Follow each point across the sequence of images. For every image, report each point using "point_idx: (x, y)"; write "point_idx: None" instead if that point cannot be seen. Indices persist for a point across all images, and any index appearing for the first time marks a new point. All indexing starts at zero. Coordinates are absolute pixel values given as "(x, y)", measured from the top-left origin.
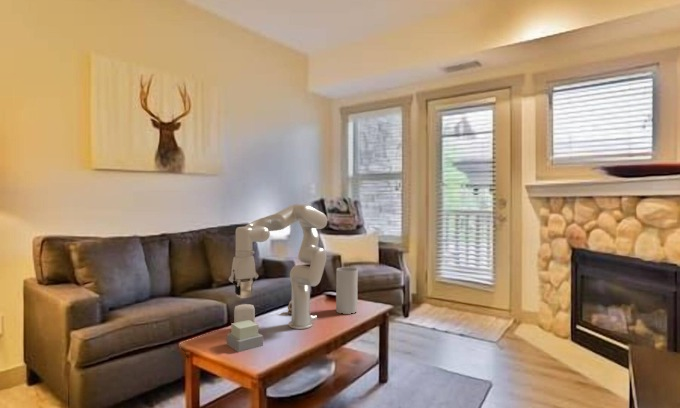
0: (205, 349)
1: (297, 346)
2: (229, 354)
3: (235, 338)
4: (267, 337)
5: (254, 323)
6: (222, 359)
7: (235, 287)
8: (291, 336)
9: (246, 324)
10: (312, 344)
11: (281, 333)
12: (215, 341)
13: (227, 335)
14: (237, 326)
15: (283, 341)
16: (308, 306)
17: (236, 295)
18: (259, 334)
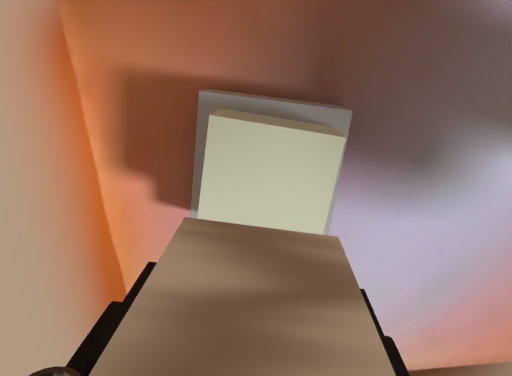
0: (98, 73)
1: (409, 329)
2: (156, 204)
3: (201, 181)
4: (410, 158)
5: (317, 223)
6: (110, 227)
7: (71, 365)
8: (494, 231)
9: (270, 203)
10: (465, 355)
11: (501, 163)
12: (186, 3)
13: (198, 100)
14: (205, 196)
15: (417, 251)
16: None
17: (181, 227)
18: (326, 221)
